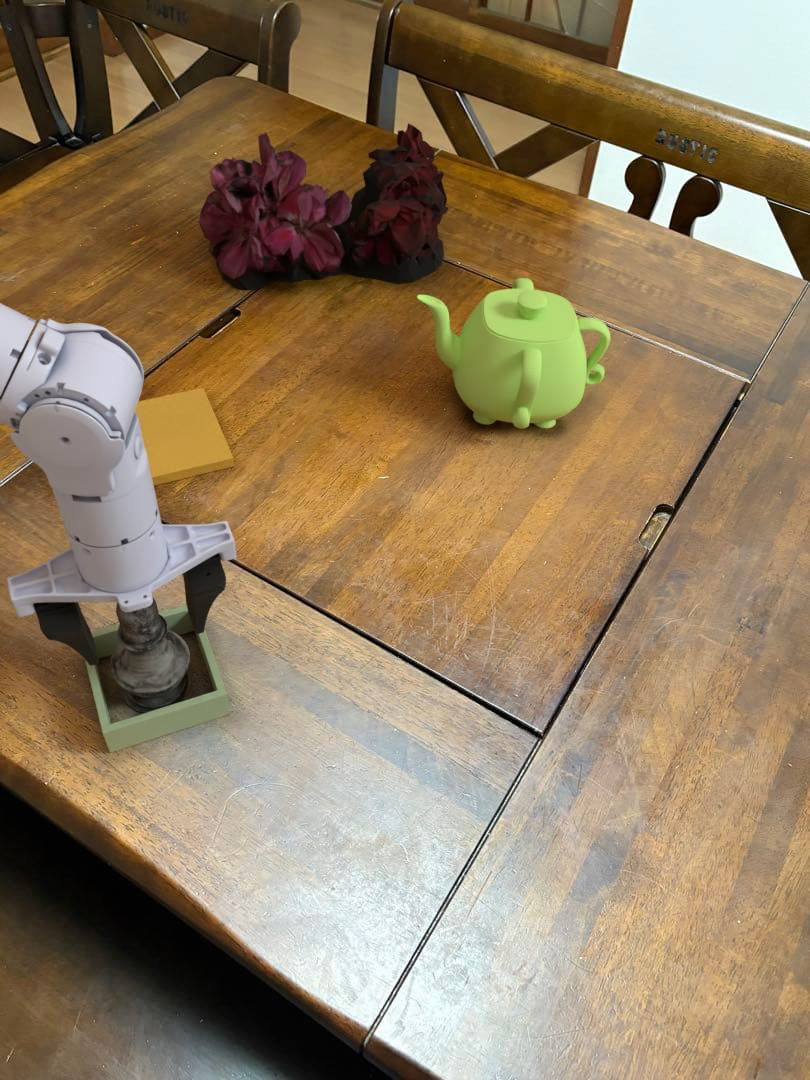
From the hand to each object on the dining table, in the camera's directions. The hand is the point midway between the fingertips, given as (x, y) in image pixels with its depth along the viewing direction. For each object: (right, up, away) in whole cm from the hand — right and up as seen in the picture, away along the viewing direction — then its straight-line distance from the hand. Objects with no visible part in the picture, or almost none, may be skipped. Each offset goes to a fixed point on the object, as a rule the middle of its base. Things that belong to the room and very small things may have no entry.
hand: (145, 638), depth 67 cm
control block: (-6, +17, +22) cm, 28 cm away
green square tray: (0, -4, +5) cm, 6 cm away
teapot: (+29, +22, +30) cm, 48 cm away
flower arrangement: (+10, +42, +46) cm, 63 cm away
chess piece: (-1, -4, +5) cm, 7 cm away
